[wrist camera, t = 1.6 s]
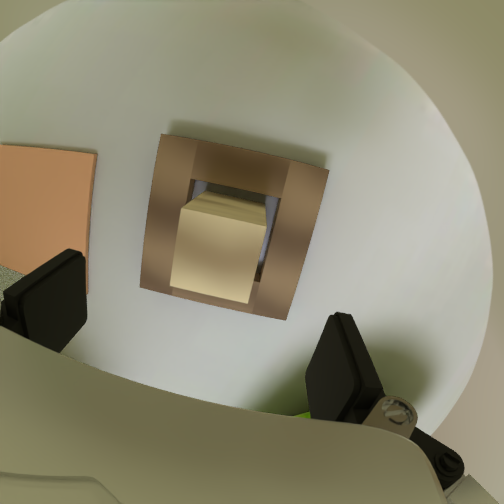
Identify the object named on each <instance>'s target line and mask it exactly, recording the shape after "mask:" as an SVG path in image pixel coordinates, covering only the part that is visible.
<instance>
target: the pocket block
mask: <svg viewBox="0 0 504 504" xmlns="http://www.w3.org/2000/svg"><path fill="white" fill-rule="evenodd" d="M328 174H329V170H327V169H324V168H320V167H316V166H313V165H309V164H305V163H302V162H298V161H294V160H290V159H286V158H282V157H278V156H274V155H269V154H265V153H261V152H256V151H252V150H247V149H242V148H238V147H233V146H228V145H223V144H218V143H213V142H207V141H202V140H196V139H190V138H184V137H178V136H172V135H165V134H161V137H160V141H159V147H158V152H157V157H156V162H155V168H154V174H153V180H152V186H151V192H150V199H149V206H148V213H147V220H146V228H145V237H144V245H143V255H142V265H141V276H140V287H141V288H145V289H148V290H152V291H156V292H160V293H164V294H168V295H172V296H176V297H180V298H184V299H188V300H192V301H197V302H201V303H205V304H209V305H214V306H218V307H223V308H227V309H232V310H236V311H241V312H246V313H251V314H255V315H260V316H265V317H270V318H275V319H280V320H286V319H287V315H288V312H289V309H290V306H291V303H292V300H293V297H294V293H295V290H296V287H297V284H298V280H299V277H300V274H301V271H302V267H303V264H304V261H305V257H306V254H307V250H308V247H309V244H310V240H311V237H312V233H313V230H314V226H315V222H316V219H317V215H318V212H319V208H320V204H321V201H322V197H323V193H324V189H325V185H326V182H327V178H328ZM195 180H200V181H205V182H210V183H215V184H220V185H224V186H229V187H234V188H238V189H243V190H247V191H252V192H256V193H260V194H265V195H269V196H273V197H278V198H279V200H278V204H277V208H276V212H275V216H274V220H273V224H272V228H271V232H270V236H269V240H268V244H267V248H266V252H265V256H264V260H263V264H262V268H261V272H260V273H257V272H256V273H255V277H254V281H253V285H252V289H251V293H250V297H249V300H248V304H247V303H242V302H238V301H233V300H228V299H224V298H219V297H215V296H211V295H206V294H202V293H198V292H193V291H189V290H185V289H181V288H177V287H173V286H170V280H171V272H172V265H173V257H174V251H175V244H176V237H177V231H178V225H179V218H180V213H181V208H182V207H183V206H185V205H186V204H187V203H189V202H190V201H191V199H192V194H193V188H194V183H195Z"/></svg>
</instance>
